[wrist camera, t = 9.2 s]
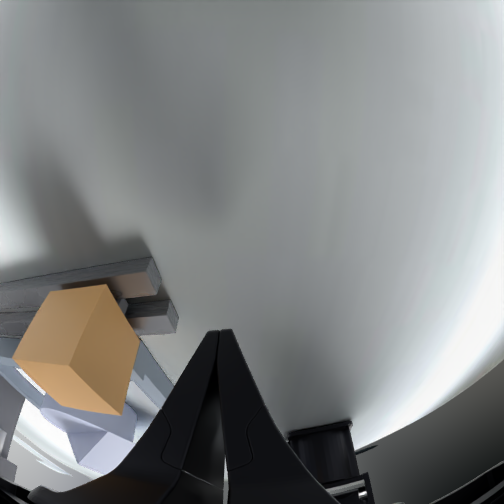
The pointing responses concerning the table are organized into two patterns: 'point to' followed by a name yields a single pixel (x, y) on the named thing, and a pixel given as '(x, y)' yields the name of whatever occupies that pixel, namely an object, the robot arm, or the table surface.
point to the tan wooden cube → (81, 349)
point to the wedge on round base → (94, 434)
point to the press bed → (18, 388)
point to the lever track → (114, 275)
